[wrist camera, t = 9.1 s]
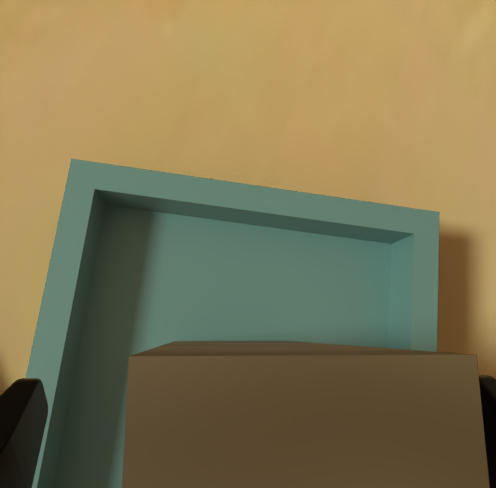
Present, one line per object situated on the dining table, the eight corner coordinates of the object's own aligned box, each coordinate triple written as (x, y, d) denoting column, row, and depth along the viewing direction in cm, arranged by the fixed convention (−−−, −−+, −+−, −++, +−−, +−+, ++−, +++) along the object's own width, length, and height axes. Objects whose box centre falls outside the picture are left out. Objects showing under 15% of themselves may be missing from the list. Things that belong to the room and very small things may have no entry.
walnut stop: (291, 463, 17) (517, 769, 5) (170, 467, 16) (103, 817, 4) (289, 341, 18) (476, 355, 6) (174, 340, 17) (129, 356, 5)
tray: (389, 637, 17) (430, 701, 14) (6, 616, 15) (-38, 682, 13) (404, 229, 20) (439, 212, 17) (90, 186, 19) (71, 158, 16)
